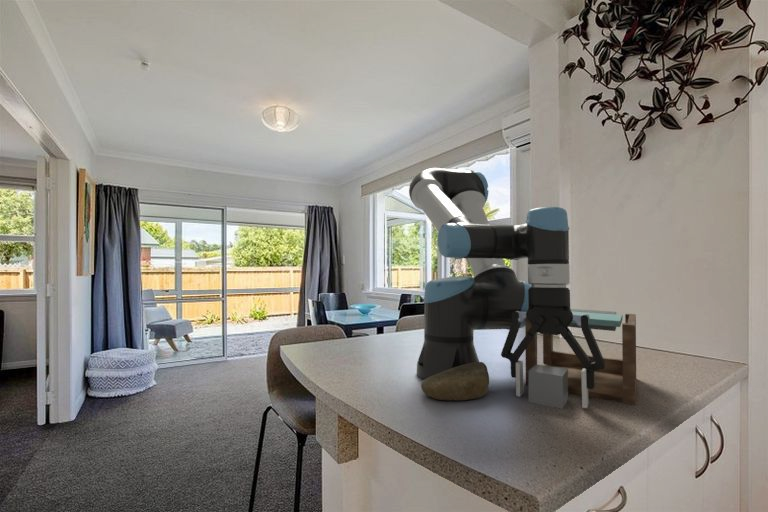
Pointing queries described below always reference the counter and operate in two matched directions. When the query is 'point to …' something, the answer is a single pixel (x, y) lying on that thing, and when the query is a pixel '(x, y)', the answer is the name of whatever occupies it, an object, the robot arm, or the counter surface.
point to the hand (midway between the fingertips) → (551, 400)
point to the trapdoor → (599, 319)
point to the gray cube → (548, 385)
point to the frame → (609, 381)
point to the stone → (458, 383)
